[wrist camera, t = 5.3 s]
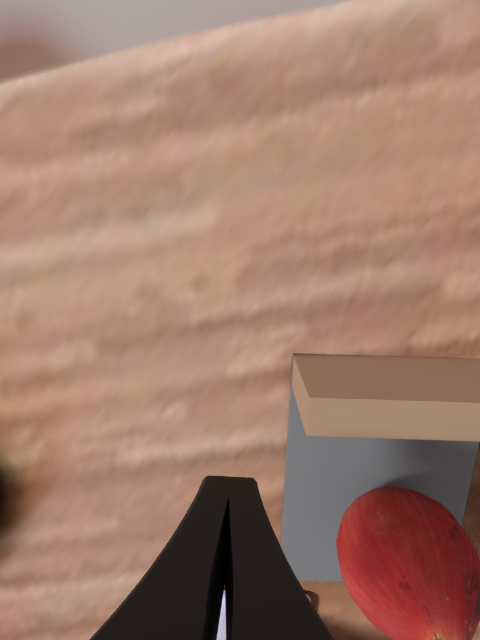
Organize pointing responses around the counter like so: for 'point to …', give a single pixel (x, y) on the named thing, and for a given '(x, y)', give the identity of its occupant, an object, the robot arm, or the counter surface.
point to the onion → (409, 566)
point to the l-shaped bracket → (372, 443)
